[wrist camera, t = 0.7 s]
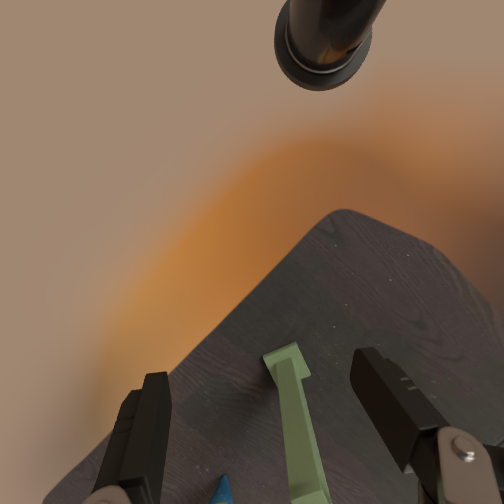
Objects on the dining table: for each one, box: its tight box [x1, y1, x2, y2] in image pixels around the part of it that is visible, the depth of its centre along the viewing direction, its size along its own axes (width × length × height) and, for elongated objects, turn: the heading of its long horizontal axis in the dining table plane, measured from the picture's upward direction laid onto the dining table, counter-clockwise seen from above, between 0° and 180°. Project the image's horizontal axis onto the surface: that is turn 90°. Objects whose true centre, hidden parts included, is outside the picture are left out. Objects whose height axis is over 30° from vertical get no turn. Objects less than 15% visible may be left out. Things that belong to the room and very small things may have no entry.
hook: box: [263, 342, 333, 504], centre depth 28 cm, size 14×5×19 cm, turn 25°
